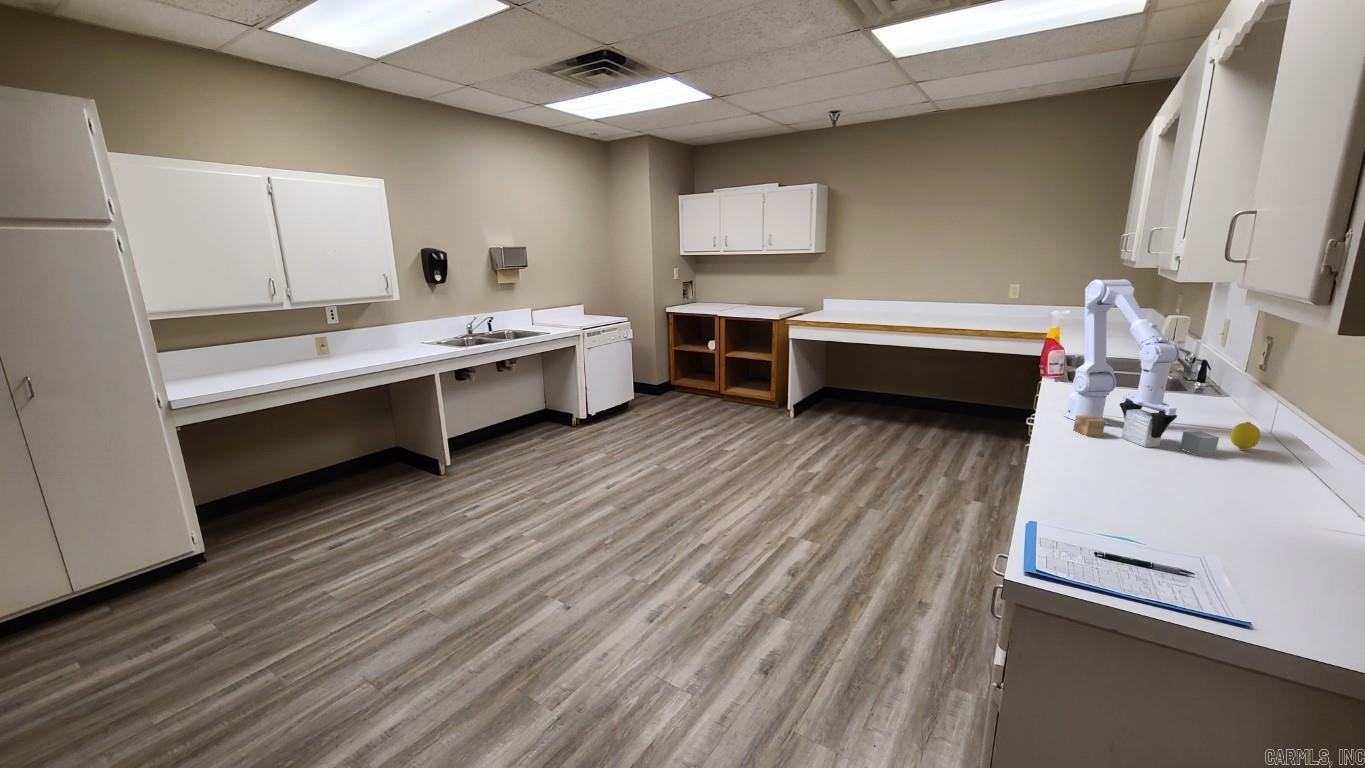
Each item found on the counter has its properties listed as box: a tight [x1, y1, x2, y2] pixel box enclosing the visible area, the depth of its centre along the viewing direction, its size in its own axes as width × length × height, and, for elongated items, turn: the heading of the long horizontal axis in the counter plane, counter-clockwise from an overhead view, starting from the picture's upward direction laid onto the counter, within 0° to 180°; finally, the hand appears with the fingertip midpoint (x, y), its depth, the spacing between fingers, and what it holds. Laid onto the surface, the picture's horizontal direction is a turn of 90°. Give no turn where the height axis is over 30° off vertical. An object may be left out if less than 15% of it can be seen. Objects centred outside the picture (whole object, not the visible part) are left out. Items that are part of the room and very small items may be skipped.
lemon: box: [1230, 421, 1261, 451], centre depth 148 cm, size 6×6×8 cm
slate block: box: [1179, 430, 1220, 456], centre depth 148 cm, size 5×5×5 cm
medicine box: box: [1121, 408, 1162, 448], centre depth 154 cm, size 8×4×9 cm, turn 3°
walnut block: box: [1072, 415, 1106, 437], centre depth 162 cm, size 5×5×5 cm
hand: (1142, 432), depth 154 cm, fingers closed on medicine box, 7 cm apart
